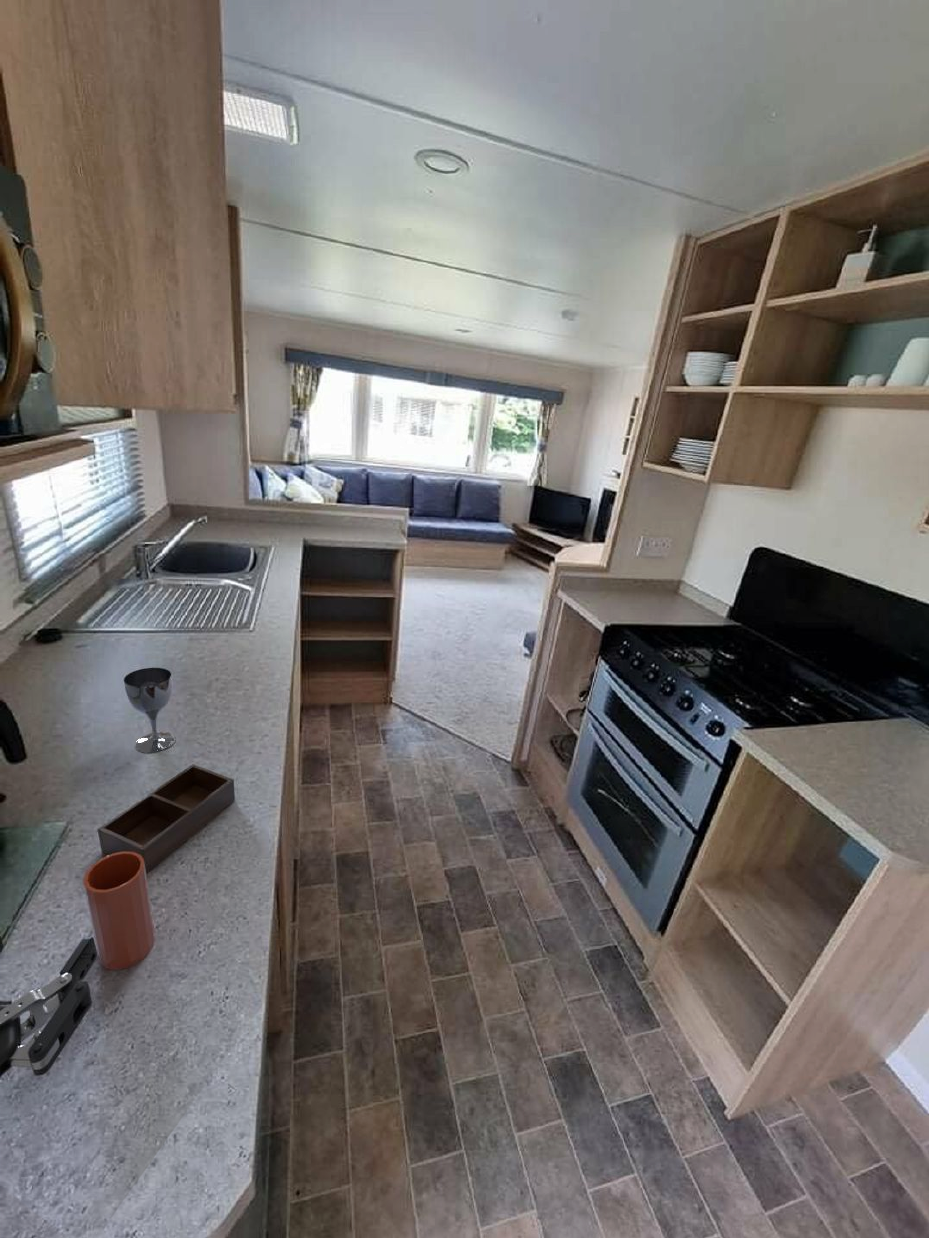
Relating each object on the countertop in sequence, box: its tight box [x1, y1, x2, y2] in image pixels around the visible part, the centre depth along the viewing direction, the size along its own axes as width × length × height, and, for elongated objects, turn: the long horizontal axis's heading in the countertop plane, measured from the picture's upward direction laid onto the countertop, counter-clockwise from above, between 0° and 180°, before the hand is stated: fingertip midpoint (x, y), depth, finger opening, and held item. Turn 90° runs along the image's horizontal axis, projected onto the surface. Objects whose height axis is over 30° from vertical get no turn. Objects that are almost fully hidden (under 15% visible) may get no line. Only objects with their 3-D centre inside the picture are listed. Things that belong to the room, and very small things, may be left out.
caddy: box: [97, 763, 236, 874], centre depth 85 cm, size 9×18×5 cm, turn 160°
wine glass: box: [123, 667, 174, 754], centre depth 102 cm, size 8×8×15 cm
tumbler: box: [82, 851, 156, 971], centre depth 64 cm, size 6×6×13 cm
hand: (44, 941), depth 50 cm, fingers open, 8 cm apart
